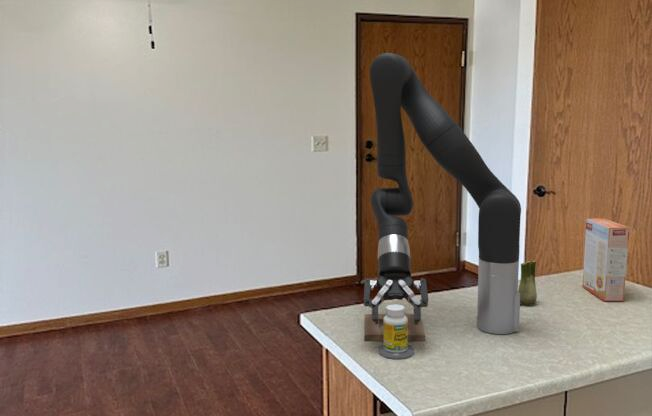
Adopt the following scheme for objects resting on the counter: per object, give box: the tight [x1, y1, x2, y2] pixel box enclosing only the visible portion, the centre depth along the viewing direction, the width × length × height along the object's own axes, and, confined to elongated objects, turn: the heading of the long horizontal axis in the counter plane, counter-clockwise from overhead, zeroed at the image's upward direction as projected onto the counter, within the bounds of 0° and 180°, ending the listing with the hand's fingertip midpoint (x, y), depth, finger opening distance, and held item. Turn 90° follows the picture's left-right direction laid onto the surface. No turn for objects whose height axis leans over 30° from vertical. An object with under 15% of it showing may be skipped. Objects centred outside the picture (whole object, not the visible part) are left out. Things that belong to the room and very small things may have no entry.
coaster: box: [377, 343, 415, 360], centre depth 127 cm, size 8×8×1 cm
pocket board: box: [363, 313, 426, 342], centre depth 140 cm, size 14×14×2 cm
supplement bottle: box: [383, 303, 409, 353], centre depth 127 cm, size 5×5×10 cm
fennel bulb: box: [518, 260, 538, 306], centre depth 156 cm, size 6×5×12 cm
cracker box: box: [581, 217, 630, 302], centre depth 163 cm, size 14×6×21 cm, turn 179°
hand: (396, 323), depth 126 cm, fingers open, 8 cm apart
